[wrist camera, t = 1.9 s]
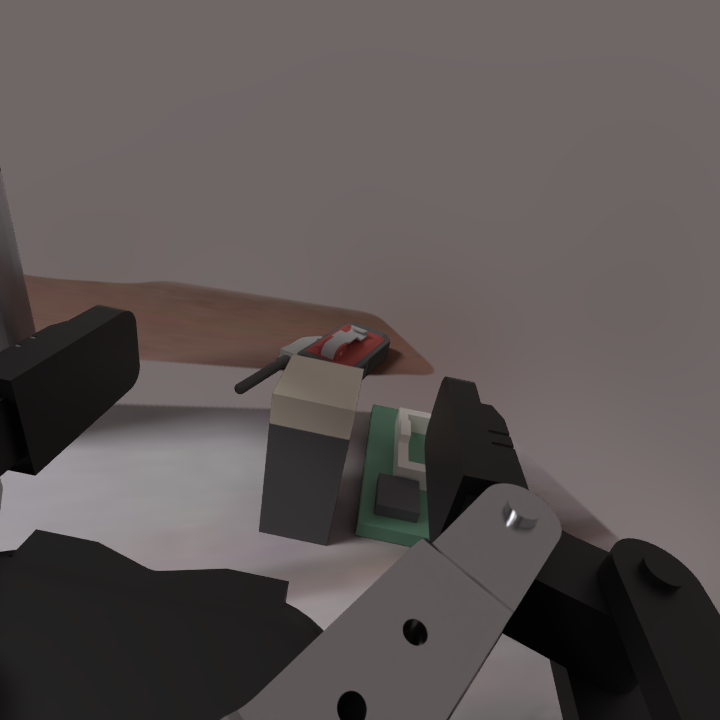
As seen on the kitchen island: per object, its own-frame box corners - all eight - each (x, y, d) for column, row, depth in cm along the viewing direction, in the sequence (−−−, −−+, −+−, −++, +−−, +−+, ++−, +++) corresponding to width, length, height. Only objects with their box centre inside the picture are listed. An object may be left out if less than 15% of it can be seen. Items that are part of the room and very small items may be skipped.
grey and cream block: (259, 531, 27) (272, 393, 22) (277, 481, 31) (292, 354, 26) (326, 545, 27) (356, 411, 22) (336, 494, 31) (363, 369, 26)
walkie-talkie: (333, 332, 56) (226, 398, 40) (338, 301, 54) (228, 357, 38) (392, 355, 53) (304, 437, 37) (400, 324, 51) (310, 396, 35)
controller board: (354, 534, 29) (365, 495, 27) (370, 414, 41) (378, 381, 39) (499, 565, 29) (519, 528, 27) (471, 435, 41) (484, 403, 39)
